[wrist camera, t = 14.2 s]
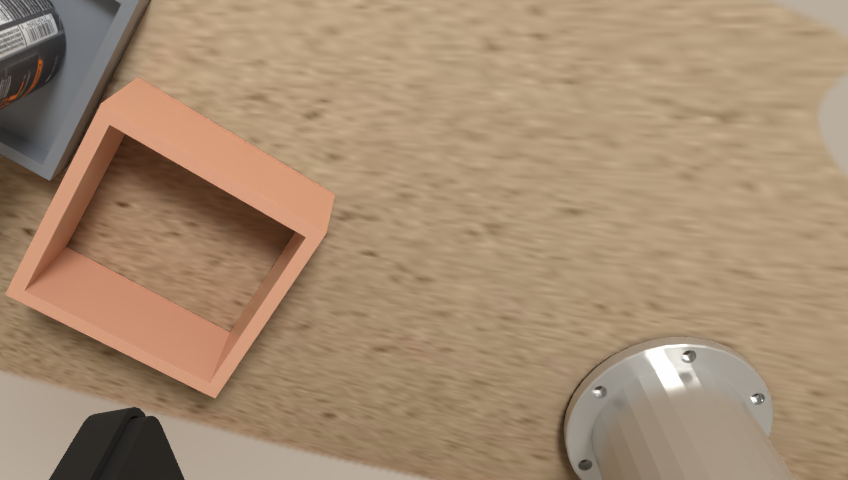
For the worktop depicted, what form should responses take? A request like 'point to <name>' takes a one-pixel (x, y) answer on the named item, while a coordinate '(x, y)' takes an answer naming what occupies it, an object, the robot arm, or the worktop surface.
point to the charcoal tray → (69, 85)
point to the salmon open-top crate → (135, 305)
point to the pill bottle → (28, 47)
